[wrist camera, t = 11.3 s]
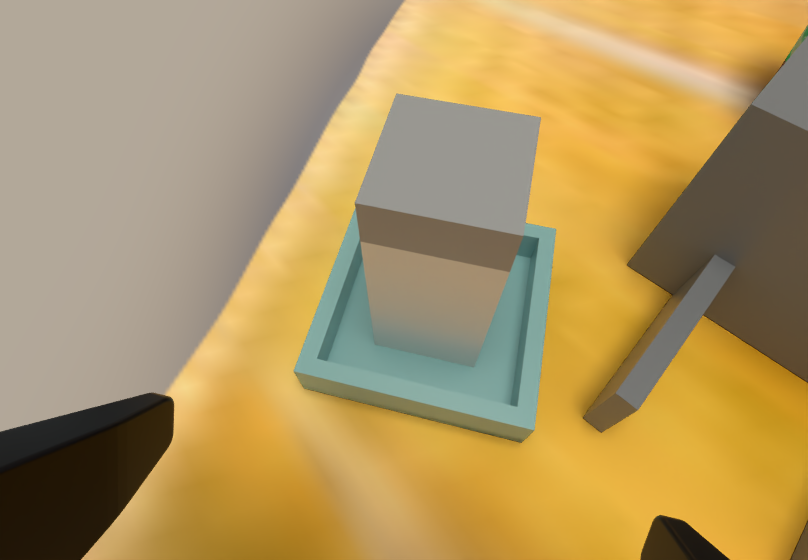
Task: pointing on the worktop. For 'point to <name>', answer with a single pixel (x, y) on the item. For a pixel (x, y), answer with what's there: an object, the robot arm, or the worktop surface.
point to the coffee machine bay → (732, 250)
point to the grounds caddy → (443, 223)
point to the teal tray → (428, 377)
